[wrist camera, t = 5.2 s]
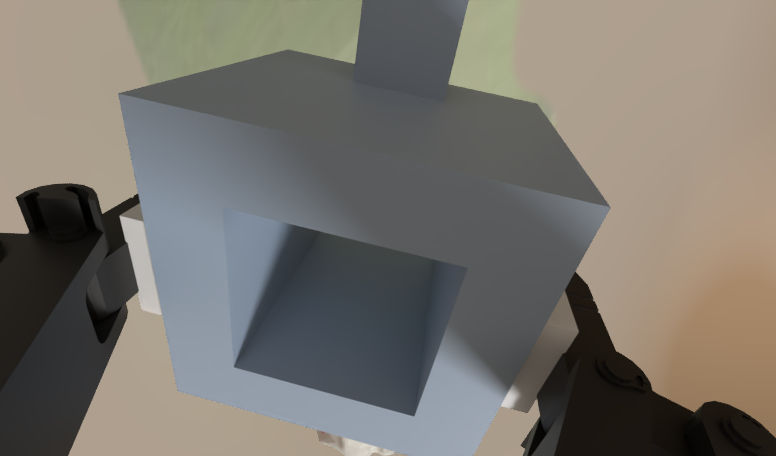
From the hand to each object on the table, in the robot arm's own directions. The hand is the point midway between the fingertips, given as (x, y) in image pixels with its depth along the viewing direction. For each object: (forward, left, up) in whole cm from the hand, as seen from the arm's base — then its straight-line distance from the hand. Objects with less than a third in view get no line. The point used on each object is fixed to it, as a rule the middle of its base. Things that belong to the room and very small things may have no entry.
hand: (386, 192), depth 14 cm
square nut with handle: (-2, 0, 0) cm, 2 cm away
